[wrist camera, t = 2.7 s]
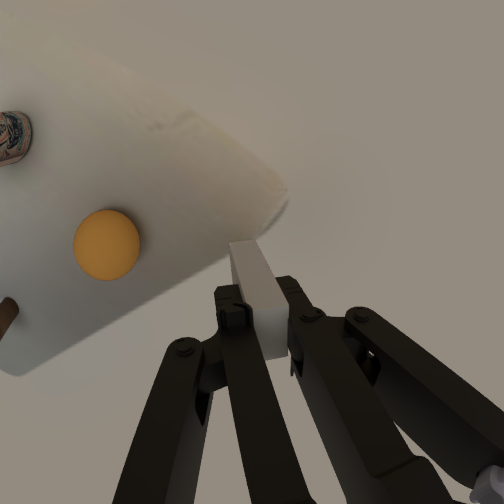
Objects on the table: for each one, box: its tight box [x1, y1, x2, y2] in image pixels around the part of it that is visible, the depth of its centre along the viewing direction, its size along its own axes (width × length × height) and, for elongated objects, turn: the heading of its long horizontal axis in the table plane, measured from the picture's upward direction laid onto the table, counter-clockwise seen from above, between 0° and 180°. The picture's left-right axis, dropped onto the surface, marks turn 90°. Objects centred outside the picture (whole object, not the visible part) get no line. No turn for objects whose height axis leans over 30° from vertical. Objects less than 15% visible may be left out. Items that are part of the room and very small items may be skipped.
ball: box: [74, 210, 140, 281], centre depth 20 cm, size 6×6×6 cm
